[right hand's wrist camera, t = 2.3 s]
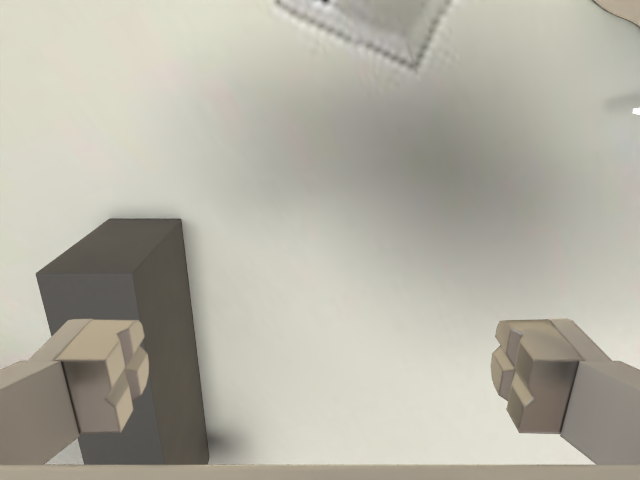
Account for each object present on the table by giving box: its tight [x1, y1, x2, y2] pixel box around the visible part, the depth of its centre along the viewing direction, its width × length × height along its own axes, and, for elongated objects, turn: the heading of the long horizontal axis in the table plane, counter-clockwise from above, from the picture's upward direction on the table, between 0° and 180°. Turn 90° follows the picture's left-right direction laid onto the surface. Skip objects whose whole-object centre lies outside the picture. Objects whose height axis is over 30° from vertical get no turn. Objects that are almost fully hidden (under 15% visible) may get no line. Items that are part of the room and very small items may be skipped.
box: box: [36, 219, 209, 465], centre depth 39 cm, size 28×6×11 cm, turn 0°
